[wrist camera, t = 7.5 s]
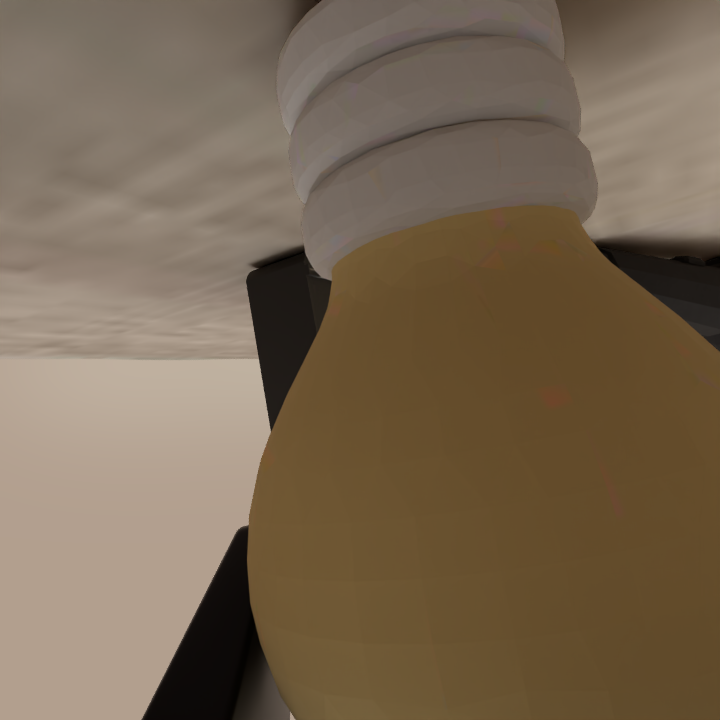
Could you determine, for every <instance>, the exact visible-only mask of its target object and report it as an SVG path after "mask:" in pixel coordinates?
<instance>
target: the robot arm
mask: <svg viewBox="0 0 720 720" xmlns="http://www.w3.org/2000/svg"><path fill="white" fill-rule="evenodd" d="M248 530H249V525H248V526H243V527H241V528H240V529H238V531H237V532H236V534H235V536H234V538H233V540H232V542H231V544H230V546H229V548H228V550H227V552H226V554H225V556H224V558H223V560H222V561H221V563H220V565H219V567H218V569H217V571H216V574H215V575H214V577H213V580H212V582H211V583H210V585H209V587H208V589H207V591H206V593H205V595H204V597H203V599H202V601H201V603H200V605H199V607H198V609H197V611H196V613H195V615H194V617H193V619H192V621H191V623H190V625H189V627H188V629H187V631H186V633H185V635H184V637H183V639H182V641H181V643H180V645H179V647H178V649H177V651H176V653H175V655H174V657H173V659H172V661H171V663H170V665H169V667H168V668H167V671H166V673H165V675H164V677H163V679H162V680H161V682H160V684H159V686H158V688H157V690H156V692H155V694H154V696H153V698H152V700H151V702H150V704H149V706H148V708H147V710H146V712H145V714H144V716H143V718H142V720H290V710H289V708H288V707H287V705H286V704H285V702H284V701H283V699H282V698H281V696H280V693H279V691H278V688H277V686H276V683H275V680H274V678H273V675H272V673H271V670H270V668H269V665H268V662H267V660H266V657H265V655H264V652H263V649H262V647H261V644H260V641H259V637H258V633H257V629H256V624H255V620H254V616H253V612H252V608H251V604H250V593H249V580H248V567H247V552H248Z"/></svg>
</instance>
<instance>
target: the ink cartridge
mask: <svg viewBox="0 0 720 720" xmlns="http://www.w3.org/2000/svg"><path fill="white" fill-rule="evenodd" d="M246 284H247V290H248V296H249V302H250V308H251V314H252V320H253V326H254V332H255V338H256V344H257V350H258V356H259V362H260V368H261V374H262V380H263V386H264V392H265V398H266V404H267V410H268V416H269V422H270V428H271V432H272V429H273V427H274V424H275V422H276V420H277V417H278V415H279V413H280V410H281V408H282V405H283V403H284V401H285V398H286V396H287V394H288V392H289V390H290V388H291V386H292V384H293V382H294V380H295V378H296V376H297V374H298V372H299V370H300V368H301V366H302V364H303V362H304V360H305V358H306V356H307V354H308V352H309V350H310V348H311V346H312V343H313V341H314V339H315V337H316V335H317V333H318V331H319V329H320V326H321V324H322V321H323V318H324V316H325V313H326V311H327V307H328V303H329V297H330V291H331V284H332V281H331V280H328V279H325V278H322V277H321V276H320V275H319V274H318V273H317V272H316V271H315V270H314V268H313V267H312V265H311V263H310V262H309V260H308V258H307V256H306V253H302V254H299V255H296V256H293V257H290V258H288V259H285V260H282V261H279V262H276V263H273V264H270V265H268V266H265V267H262V268H259V269H256V270H253V271H251V272H250V273H249V275H248V277H247V280H246Z"/></svg>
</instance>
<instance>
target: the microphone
mask: <svg viewBox="0 0 720 720" xmlns="http://www.w3.org/2000/svg"><path fill="white" fill-rule="evenodd" d="M597 248H598V249H599V251H600V252H601V253H602V254H603V255H604V256H605V257H606V258H607V259H608V260H609V261H610V262H611V263H612V264H614V265H615V266H616V267H617V268H619V269H620V270H621V271H623V272H624V273H625V274H626V275H628V276H629V277H630V278H631V279H633V280H634V281H635V282H637V283H638V284H639V285H640V286H642V287H643V288H644V289H645V290H647V291H648V292H649V293H651V294H652V295H653V296H654V297H656V298H657V299H658V300H659V301H661V302H662V303H663V304H665V305H666V306H667V307H668V308H670V309H671V310H672V311H673V312H675V313H676V314H677V315H679V316H680V317H681V318H682V319H683V320H684V321H686V322H687V323H688V324H689V325H690V326H691V327H692V328H693V329H695V330H696V331H697V332H698V333H699V334H700V335H701V336H702V337H704V338H705V339H706V340H707V341H708V342H709V343H710V344H711V345H713V346H714V347H715V348H716V349H717V350H718V351H719V352H720V257H719V258H716V259H712V260H709V261H706V262H704V261H702V260H701V259H700V258H696V257H691V256H675V257H674V258H672V259H664V258H658V257H652V256H646V255H641V254H635V253H629V252H623V251H617V250H611V249H605V248H599V247H597Z"/></svg>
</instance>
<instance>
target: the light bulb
mask: <svg viewBox="0 0 720 720" xmlns="http://www.w3.org/2000/svg"><path fill="white" fill-rule="evenodd" d="M564 51H565V42H564V36H563V31H562V26H561V20H560V15H559V11H558V8H557V5H556V2H555V0H321V2H319V3H318V4H317V5H316V6H315V7H313V8H312V9H311V10H310V11H308V12H307V13H306V15H305V16H304V17H303V18H302V19H301V20H300V22H299V23H298V24H297V25H296V26H295V27H294V29H293V30H292V31H291V33H290V35H289V37H288V38H287V40H286V42H285V44H284V46H283V48H282V49H281V52H280V56H279V61H278V65H277V83H276V92H277V97H278V102H279V107H280V112H281V116H282V119H283V123H284V126H285V129H286V130H287V132H288V133H289V134H290V142H289V151H288V154H289V160H290V167H291V173H292V180H293V186H294V188H295V190H296V192H297V195H298V197H299V199H300V200H301V201H302V202H303V204H304V205H305V206H304V208H303V214H302V221H301V227H302V234H303V240H304V247H305V253H306V256H307V258H308V260H309V262H310V263H311V265H312V267H313V268H314V270H315V271H316V272H317V273H318V274H319V275H320V276H321V277H322V278H325V279H328V280H331V281H332V284H331V291H330V297H329V303H328V307H327V311H326V313H325V316H324V318H323V321H322V324H321V326H320V329H319V331H318V333H317V335H316V337H315V339H314V341H313V343H312V346H311V348H310V350H309V352H308V354H307V356H306V358H305V360H304V362H303V364H302V366H301V368H300V370H299V372H298V374H297V376H296V378H295V380H294V382H293V384H292V386H291V388H290V390H289V392H288V394H287V396H286V398H285V401H284V403H283V405H282V408H281V410H280V413H279V415H278V417H277V420H276V422H275V424H274V427H273V429H272V432H271V434H270V436H269V439H268V442H267V444H266V447H265V450H264V453H263V455H262V458H261V462H260V466H259V470H258V474H257V480H256V484H255V489H254V495H253V499H252V504H251V509H250V514H249V530H248V552H247V567H248V580H249V593H250V604H251V608H252V612H253V616H254V620H255V624H256V629H257V633H258V637H259V641H260V644H261V647H262V649H263V652H264V655H265V657H266V660H267V662H268V665H269V668H270V670H271V673H272V675H273V678H274V680H275V683H276V686H277V688H278V691H279V693H280V696H281V698H282V699H283V701H284V702H285V704H286V705H287V707H288V708H289V710H290V712H291V713H292V715H293V716H294V718H295V719H296V720H720V352H719V351H718V350H717V349H716V348H715V347H714V346H713V345H711V344H710V343H709V342H708V341H707V340H706V339H705V338H704V337H702V336H701V335H700V334H699V333H698V332H697V331H696V330H695V329H693V328H692V327H691V326H690V325H689V324H688V323H687V322H686V321H684V320H683V319H682V318H681V317H680V316H679V315H677V314H676V313H675V312H673V311H672V310H671V309H670V308H668V307H667V306H666V305H665V304H663V303H662V302H661V301H659V300H658V299H657V298H656V297H654V296H653V295H652V294H651V293H649V292H648V291H647V290H645V289H644V288H643V287H642V286H640V285H639V284H638V283H637V282H635V281H634V280H633V279H631V278H630V277H629V276H628V275H626V274H625V273H624V272H623V271H621V270H620V269H619V268H617V267H616V266H615V265H614V264H612V263H611V262H610V261H609V260H608V259H607V258H606V257H605V256H604V255H603V254H602V253H601V252H600V251H599V249H598V248H597V247H596V246H595V244H594V243H593V242H592V240H591V239H590V238H589V236H588V235H587V233H586V231H585V230H584V228H583V227H582V224H583V223H584V222H585V221H586V220H587V219H588V218H589V217H590V215H591V214H592V212H593V210H594V209H595V205H596V201H597V189H598V182H597V178H596V174H595V170H594V166H593V162H592V158H591V154H590V151H589V150H588V149H587V148H586V147H585V145H584V144H583V143H582V142H581V141H580V140H579V138H578V137H577V136H578V134H579V132H580V123H581V108H580V104H579V100H578V96H577V92H576V88H575V84H574V80H573V77H572V75H571V73H570V71H569V69H568V68H567V66H566V64H565V63H564V62H563V61H564Z"/></svg>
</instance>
